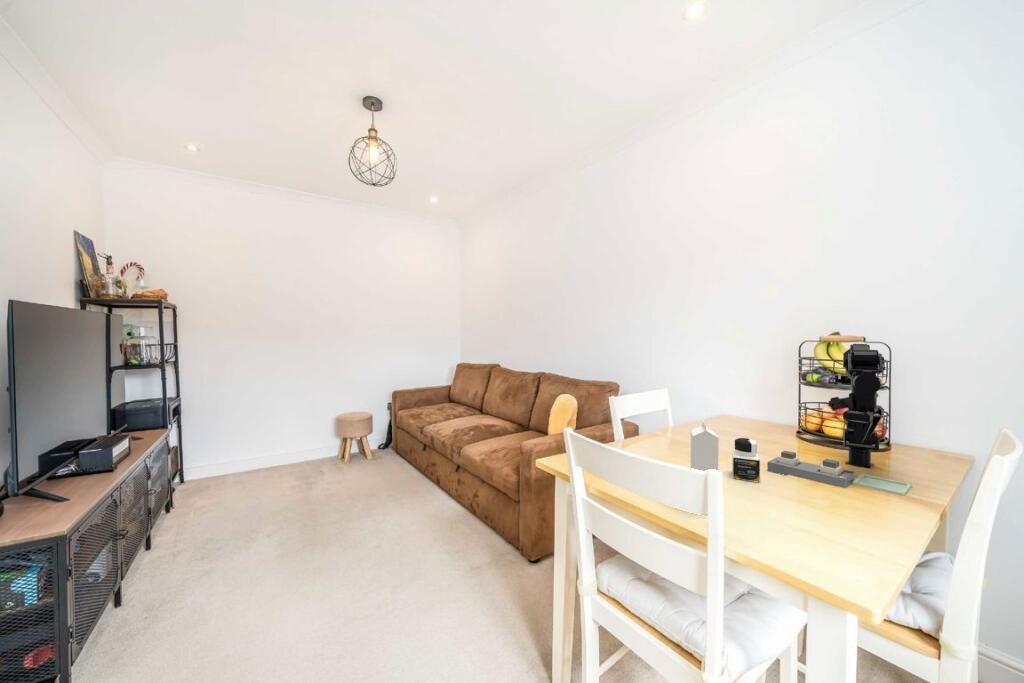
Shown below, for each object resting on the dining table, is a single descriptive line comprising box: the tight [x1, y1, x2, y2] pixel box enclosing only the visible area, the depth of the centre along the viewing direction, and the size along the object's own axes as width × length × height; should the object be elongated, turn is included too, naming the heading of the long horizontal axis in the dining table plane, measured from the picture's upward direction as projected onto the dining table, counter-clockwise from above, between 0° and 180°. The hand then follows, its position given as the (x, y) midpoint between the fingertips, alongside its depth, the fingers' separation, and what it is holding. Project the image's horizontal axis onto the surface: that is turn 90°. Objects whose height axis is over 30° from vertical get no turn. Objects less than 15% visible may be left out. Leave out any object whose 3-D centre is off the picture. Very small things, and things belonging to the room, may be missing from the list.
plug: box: [820, 458, 843, 476], centre depth 120 cm, size 4×4×6 cm
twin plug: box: [778, 450, 799, 467], centre depth 129 cm, size 4×4×6 cm
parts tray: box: [852, 473, 913, 497], centre depth 115 cm, size 11×11×1 cm
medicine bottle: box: [731, 437, 761, 483], centre depth 124 cm, size 7×7×12 cm
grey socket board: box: [767, 456, 855, 489], centre depth 124 cm, size 9×20×3 cm, turn 37°
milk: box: [690, 419, 720, 471], centre depth 104 cm, size 6×6×22 cm
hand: (863, 440), depth 122 cm, fingers open, 9 cm apart
